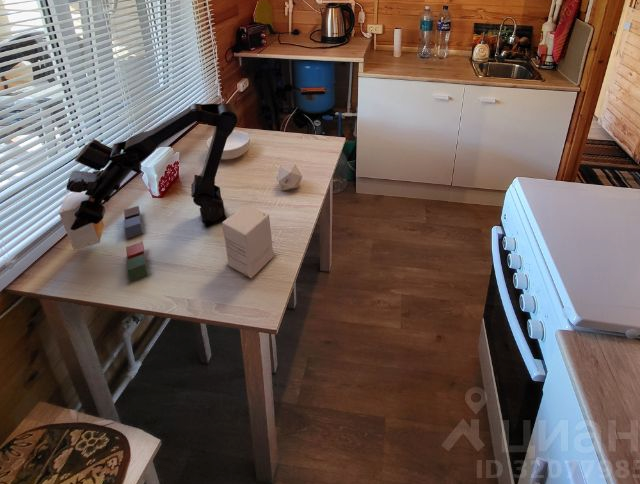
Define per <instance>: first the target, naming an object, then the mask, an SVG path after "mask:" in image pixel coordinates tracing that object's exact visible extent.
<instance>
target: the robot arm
mask: <svg viewBox="0 0 640 484" xmlns="http://www.w3.org/2000/svg"><path fill="white" fill-rule="evenodd" d="M195 123H202V124H205V125H207V126H212V127H214V128H213V134H212V136H213V137H212V141H211V144H210V147H209V151H208V150H207V155H206V158H205V162H204V164H203V168H202V171H201V173H200V174H199V175H198V174H194V175H193V181H192V183H191V186H190V187H191V188H190V189H191V194H190V195H191V198H192V200H193V203H194V204H195V206H198V207H199V213H200V219H201V222H202V224H204V226H205V228H209V227H212V226H215V225H217V224H222V222H224V221H225V220H226V219H227V218H228V217H227V215H226V212H225V211H226V210H225V203H224V200H223V198H222V193H221V187H220V186H218V185H216V176H217V173H218V170H219V166H220V162H221V160H222V159H221V157H222V154H223V150H224V147H225V144H226V140H227V138H228V136H229V135H230V134H231V133H232V132H233V130H235V128H236V126H237V124H238V115H237V112H236V108H235V106H234V105H233V104H231V103H228V102H226V103H225V102H224V103H221V104H220V103H192V104H190V105H189V106H188V107H187V108H184V109H183V110H182V111H180V112H179V113H177V114H176V115H173V116H172V117H171V118H169V119H168V120H166V121H164V122H163V123H161V124H158V126H156V127H154V128H152V129H150V130H146V131H141V132H139V133H137V134H135V135H132V136H129V138H127V139H126V140H123V141H120V142H116V143H113V144H112V147H111V146H108V145H106V144H104V143H102V142H100V141H99V140H98V139H95V138H92V140H90V141H89V142H88V143H87V144H85V145H84V146H83V147H82V149H81V150H80V151H79V152H78V154H77V156H76V157H75V159H74V162H76V163H79V164H80V165H83V166H85V167H87V168H90V169H92V170H95V171H92V172H91V171H85V170H72V171H71V173H70V176H69V178H68V180H67V184H66V187H65V189H66V190H67V191H69V192H71V193H77V192H79V193H80V192H82V191H86V193H85V195H88V196H91V197H92V198H93V199H92V201H89V200H85V201H82V202H81V203H80V204H79V206H78V207H77V208H76V211H75V214H74V215H75V216H76V217H77V218H76V219H75V221H74V223H73V225H72V227H71V230H77V229H79V228H81V227H83V226H85V225H88V224H90V223H94V224H99V222H100V221H101V220H103V219H104V216H105V214H106V207H105V206H104V205H102V203H103V201H104V202H106V203H108V202H109V201H110V200H111V197H112V195H113V193H115V191H119V190H120V188H121V184H122V183H123V182H124V180H126V178H127V177H128V176H129V174H131V172H134V173H137V174H141V173H142V167H143V166H142V162H144V161H145V160H146V159H147V158H148V157H150V156H151V155H152V154H153V153H154V152H155V150H156V149H157V148H158V147H159V146H160V145H161V144H163V143H164V142H166V141H168V140H169V139H170V138H172V137H173V136H175V135H177V134H179V133H180V132H182V131H183V130H185V129H187V128H189V127H190V126H192V125H193V124H195Z"/></svg>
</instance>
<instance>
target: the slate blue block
mask: <svg viewBox="0 0 640 484" xmlns="http://www.w3.org/2000/svg"><path fill="white" fill-rule="evenodd" d="M141 220H142V218H141V219H140V216H136V217H133V218H130V219H127V220H125V219H124V229H125V233H126V237H127V239H131V238H134V237H138V236H140V235H143V234H144V229H143V222H142V223H141Z"/></svg>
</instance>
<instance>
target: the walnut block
mask: <svg viewBox="0 0 640 484" xmlns="http://www.w3.org/2000/svg"><path fill="white" fill-rule="evenodd" d="M123 215H124V221H125V220H127V219H130V218H133V217H136V216H140V219H141V223H142V224H143V222H142V214H141V210H140V206H139V205H137V206H133V207H129V208H125V209H124V210H123Z"/></svg>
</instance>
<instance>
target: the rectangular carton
mask: <svg viewBox="0 0 640 484" xmlns="http://www.w3.org/2000/svg"><path fill="white" fill-rule="evenodd" d="M226 218H227V219H226V220H225V221H224V222H221V225H222V232H223V239H224V244H225V250H226V257H227V258H226V259H227V263H228V266H229V267H231V268H233V270H236V271H237V272H239V273H241V274H243V275H245V276H246V277H248V278H250V279H252V278H254V277H255V275H257V274H258V272H260V271H261V270H262V268H264V267H265V266H266V264H268V262H270V261H271V259H272V258H273V257H274V256H275V255H274V246H273V238H272V229H271V219H270V218H271V217H270V214H269V213H267V212H264V211H262V210H260V209H258V208H256V207H254V206H252V205H250V204H247V203H246V204H244V205H243V206H242V207H240V208H239V209H238V210H237V211H235V212H234V213H233V214H231V215H230V216H228V217H226Z"/></svg>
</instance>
